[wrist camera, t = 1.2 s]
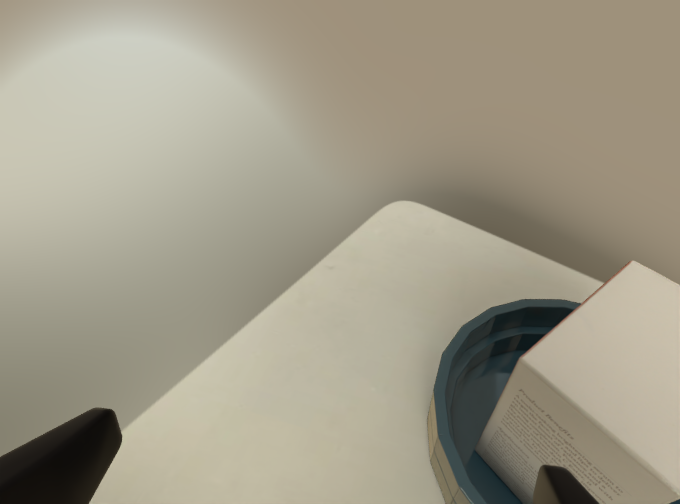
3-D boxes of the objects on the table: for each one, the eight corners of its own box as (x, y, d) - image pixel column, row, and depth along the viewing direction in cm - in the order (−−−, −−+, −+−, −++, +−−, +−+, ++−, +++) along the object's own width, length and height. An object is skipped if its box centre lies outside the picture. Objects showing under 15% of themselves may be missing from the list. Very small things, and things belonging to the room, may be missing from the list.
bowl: (800, 568, 17) (895, 555, 14) (510, 677, 16) (542, 690, 12) (584, 317, 27) (611, 276, 24) (394, 369, 26) (395, 332, 22)
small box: (557, 369, 24) (634, 254, 17) (651, 445, 21) (800, 342, 13) (469, 450, 21) (515, 354, 14) (561, 552, 18) (687, 498, 11)
